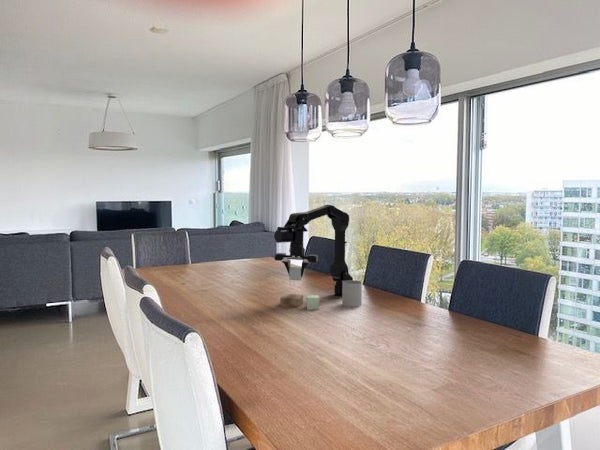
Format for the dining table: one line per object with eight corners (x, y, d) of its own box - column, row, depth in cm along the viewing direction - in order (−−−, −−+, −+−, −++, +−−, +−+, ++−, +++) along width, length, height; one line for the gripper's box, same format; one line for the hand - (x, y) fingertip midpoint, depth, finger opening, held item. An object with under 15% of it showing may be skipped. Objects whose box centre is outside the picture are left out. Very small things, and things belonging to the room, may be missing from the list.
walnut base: (303, 303, 209) (303, 294, 209) (297, 308, 202) (297, 298, 201) (286, 302, 211) (286, 293, 211) (280, 306, 204) (280, 297, 204)
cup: (339, 305, 205) (339, 282, 204) (346, 301, 212) (346, 279, 211) (357, 307, 201) (357, 284, 200) (364, 303, 208) (364, 281, 207)
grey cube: (302, 278, 210) (302, 267, 209) (300, 280, 205) (300, 269, 204) (291, 277, 211) (291, 266, 210) (289, 279, 206) (289, 268, 205)
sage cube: (317, 306, 203) (318, 295, 203) (319, 309, 198) (319, 297, 198) (306, 306, 203) (306, 295, 203) (307, 309, 198) (307, 297, 198)
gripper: (320, 241, 213) (319, 275, 214) (280, 239, 216) (279, 273, 217) (316, 243, 202) (315, 279, 203) (274, 241, 205) (273, 276, 206)
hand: (295, 277), depth 208 cm, fingers closed on grey cube, 5 cm apart
